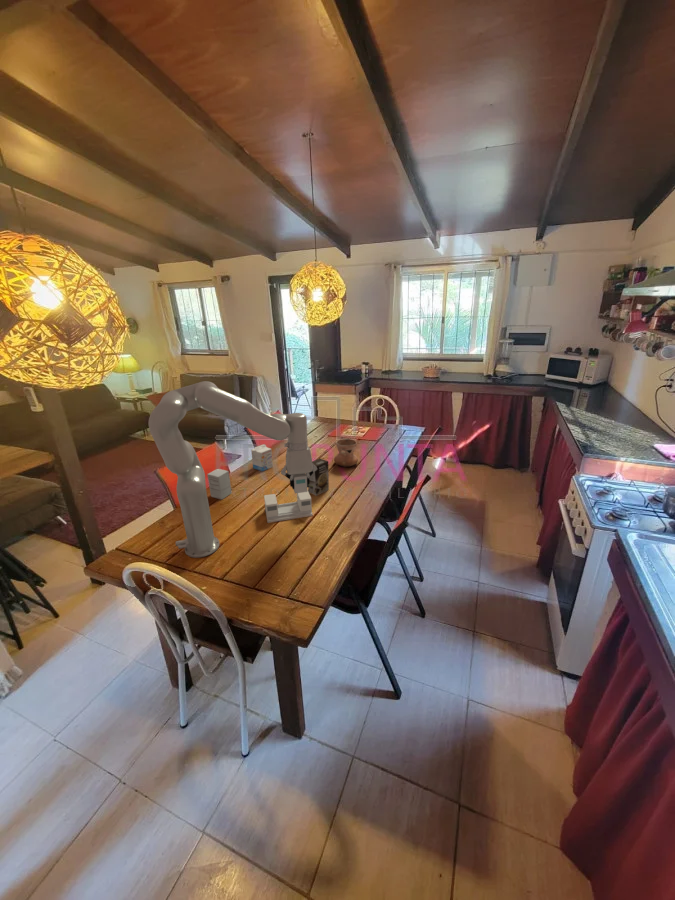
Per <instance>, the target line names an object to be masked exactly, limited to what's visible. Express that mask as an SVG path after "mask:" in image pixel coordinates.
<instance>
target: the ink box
mask: <svg viewBox="0 0 675 900" xmlns="http://www.w3.org/2000/svg"><path fill="white" fill-rule="evenodd" d="M251 460H252V468H253V469H255V470H257V471H259V472H264V471H267V470H269V469H271V468H273V467H274V464H273V463H274V462H273V451H272V448H270V447H267V445H266V444H265V443H264V444H261V445H258V446H255V447H254V448H253V449H251Z"/></svg>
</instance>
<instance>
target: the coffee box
mask: <svg viewBox="0 0 675 900" xmlns="http://www.w3.org/2000/svg"><path fill="white" fill-rule="evenodd" d="M312 463H313V464H314V465H315V466H316V467H317V470H316V471H315V472H314V473H313V474H312V475H311V476H310V478H309V484H308V487H307V490H308V492H309V494H312V495H314V496H318V495H319V496H320V495H321V494H323V493H326V492H328V491H329V490H330V489H329V488H330V487H329V485H330V484H329V483H330V482H329V477H330V476H329V460H326V459H322V458H317V459H315V460H312Z"/></svg>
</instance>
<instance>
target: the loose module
mask: <svg viewBox="0 0 675 900" xmlns="http://www.w3.org/2000/svg"><path fill="white" fill-rule="evenodd" d="M293 479H294V489H293V492H294V494H297V493H302V492H307V490H308V487H307V476H306V473H303V474H295V475H294V477H293Z"/></svg>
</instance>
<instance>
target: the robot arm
mask: <svg viewBox="0 0 675 900" xmlns="http://www.w3.org/2000/svg"><path fill="white" fill-rule="evenodd" d="M198 408H200V409H201V410H204V411H207V412H209V413H212V414H214V415H217V416H220V417H223V418H224V419H227V420H230V421H232V422H236V423H237V424H239V425H241V426H243V427H245V428H247V429H249V430H250V431H252V432H254V433H256V434H259V435H261V436H263V437H267V438H269V439H270V440H271V439H272V440H274V441H283V440H286V439H287V442H286V443H284V448H286V452H285V465H284V466H283V468H282V469H281V470H280V474H281V475H282V476H285V477H286V478H287V479H288V480H289V486H290V487H291V488H292V490H294V479H293V477H294V475H295V474H303V473H305V474H306V476H307V488H308V484H309V478H310V476H311V475H312V474H313V473H314V472H315V471H316V470H317V467H316V466H315V465H314V464H313V463H312V461H313V459H312V451H311V448H310V446H308V419H307V415H306V414H304V413H303V412H293V413H271V414H268V413H265V412H264V411H263V410H262V411H261V410H260V409H258V407H256V406H255V405H253V404H252V403H251V402H249V401H248V400H246V399H245V398H243V397H239V396H237V395H235V394H233V393H230V392H227V391H225V390H223V389H221V388H219V387H218V386H217V385H216V384H215V383H214V382H211V381H208V380H205V381H203V380H202V381H200V382H196V383H193V384H190V385H185V386H183V387H179V388H176V389H173V390H169V391H168V392H166V393H164V395H163V396H162V397H161V399H160V401H159V403H157V405H156V406H155V407H154V408H153V410H152V412H151V413H150V415H149V418H148V428H149V429H148V430H149V433H150V435H151V436H152V439H153V441H154V443H155V445H156V448H157V449H158V452H159V454H160V456H161V458H162V460H163V462H164V464H165V467H166V468H167V470H169V471H170V473H172V474H175V475H176V476H177V480H176V481H177V482H176V495H177V499H178V503H179V506H180V512H181V515H182V521H183V525H184V530H185V535H186V538H185V539H182V540H176V541H175V546H176V547H178V549H179V550H181V549H184V553H185V555H187V557H190V558H194V559H195V558H196V559H197V558H204V557H207V556H209V555H213V554H214V553H215V552H216V551H217V550H218V549H219V548H220V540H219V538H218V537H217V536H215V535H214V528H213V522H212V516H211V510H210V504H209V498H208V494H207V485H206V484H207V483H206V474H205V470H204V468H203V465H202V463H201V461H200V459H199V456H198V454H197V452H196V450H195V448H194V447H193V445H192V444H191V443H190V442H189V441H188V440H186V439H185V440H184V437H183V434H182V433H181V431H180V429H179V423H180V422H181V421H182V420H183V419H184V417H185V416H186V414H187V412H188V411H192V410H195V409H198Z"/></svg>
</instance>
